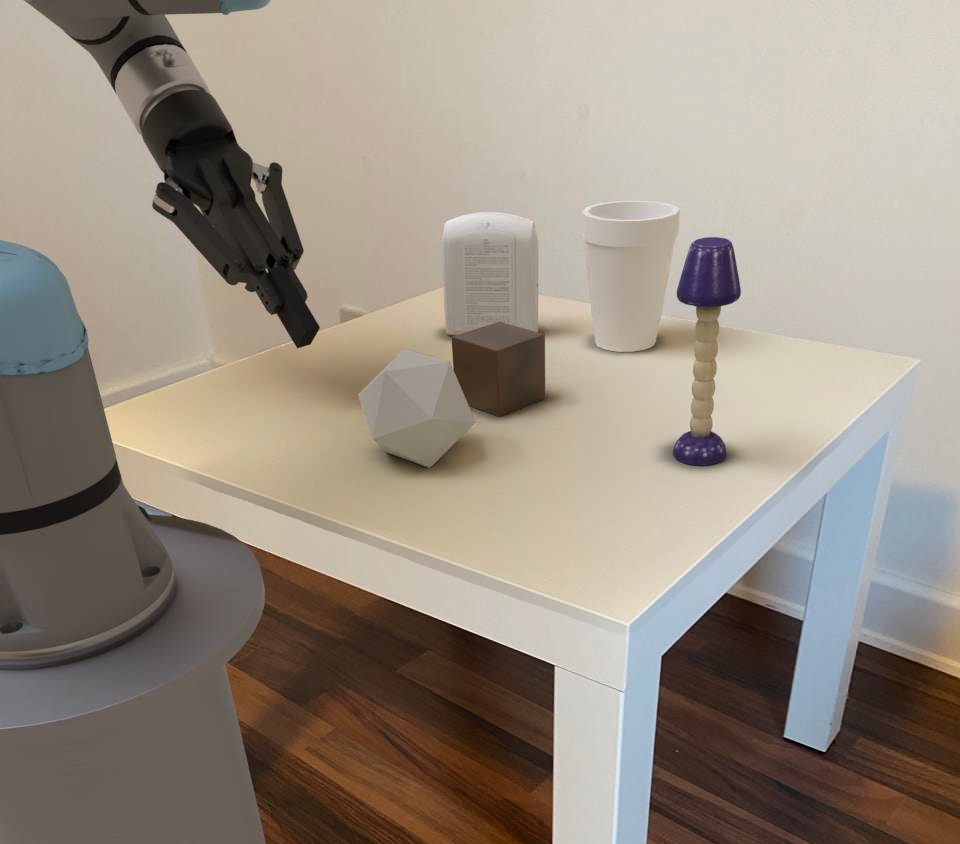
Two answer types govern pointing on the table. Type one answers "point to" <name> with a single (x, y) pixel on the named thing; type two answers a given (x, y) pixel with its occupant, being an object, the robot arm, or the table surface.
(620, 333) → the foam cup
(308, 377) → the table surface
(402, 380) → the die
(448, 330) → the white boxy piece
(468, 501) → the table surface
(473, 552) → the table surface
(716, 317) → the toy lamp
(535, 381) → the walnut block
